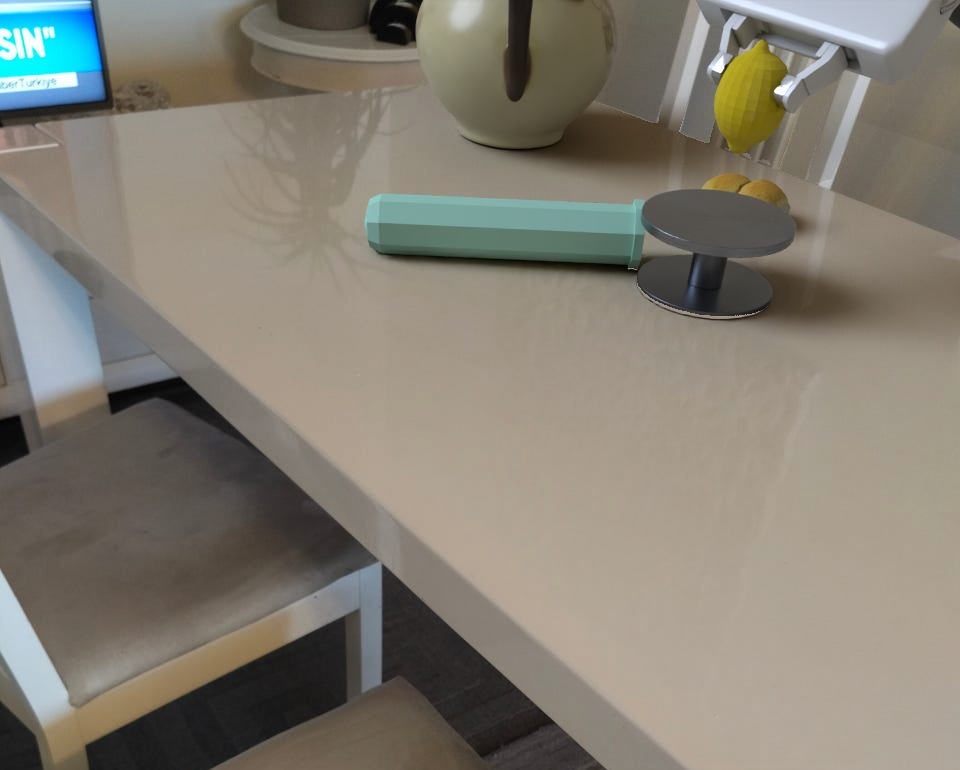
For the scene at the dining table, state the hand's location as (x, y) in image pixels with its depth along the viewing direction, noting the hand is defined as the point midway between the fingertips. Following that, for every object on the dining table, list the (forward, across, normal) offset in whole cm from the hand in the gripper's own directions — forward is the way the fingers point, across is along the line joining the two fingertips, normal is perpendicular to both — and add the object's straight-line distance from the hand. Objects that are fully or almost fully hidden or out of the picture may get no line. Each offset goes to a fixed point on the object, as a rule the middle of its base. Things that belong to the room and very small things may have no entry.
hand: (747, 93), depth 74 cm
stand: (+11, +1, -12) cm, 16 cm away
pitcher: (+4, +43, -20) cm, 47 cm away
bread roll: (0, +11, -23) cm, 26 cm away
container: (+19, +16, -4) cm, 25 cm away
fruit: (+3, 0, -4) cm, 5 cm away
